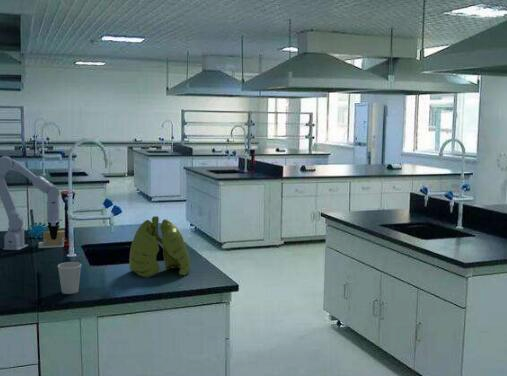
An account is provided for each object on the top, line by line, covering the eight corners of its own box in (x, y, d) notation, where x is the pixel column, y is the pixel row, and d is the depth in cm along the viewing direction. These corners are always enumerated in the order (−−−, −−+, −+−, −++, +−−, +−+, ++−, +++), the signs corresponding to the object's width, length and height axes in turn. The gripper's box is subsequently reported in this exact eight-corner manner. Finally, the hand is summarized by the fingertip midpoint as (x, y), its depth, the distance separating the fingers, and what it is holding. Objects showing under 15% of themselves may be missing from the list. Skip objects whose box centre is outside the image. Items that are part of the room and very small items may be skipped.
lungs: (129, 279, 219) (129, 219, 216) (129, 269, 234) (128, 212, 231) (192, 276, 225) (193, 218, 222) (188, 266, 240) (188, 211, 237)
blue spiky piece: (25, 236, 285) (30, 220, 292) (26, 242, 290) (31, 226, 296) (47, 238, 287) (52, 222, 293) (48, 244, 292) (53, 229, 298)
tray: (68, 242, 281) (68, 234, 280) (69, 246, 272) (69, 238, 271) (38, 243, 276) (38, 235, 276) (38, 248, 267) (38, 240, 266)
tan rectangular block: (64, 242, 277) (64, 230, 277) (64, 243, 274) (64, 231, 273) (43, 243, 274) (42, 231, 273) (43, 245, 270) (42, 232, 269)
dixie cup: (67, 287, 207) (66, 261, 206) (86, 289, 205) (86, 263, 204) (53, 293, 200) (52, 266, 198) (73, 296, 197) (72, 268, 196)
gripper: (62, 212, 266) (62, 240, 268) (61, 207, 280) (62, 234, 282) (46, 213, 264) (47, 241, 266) (46, 208, 277) (47, 235, 279)
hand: (53, 237), depth 273 cm, fingers open, 7 cm apart
